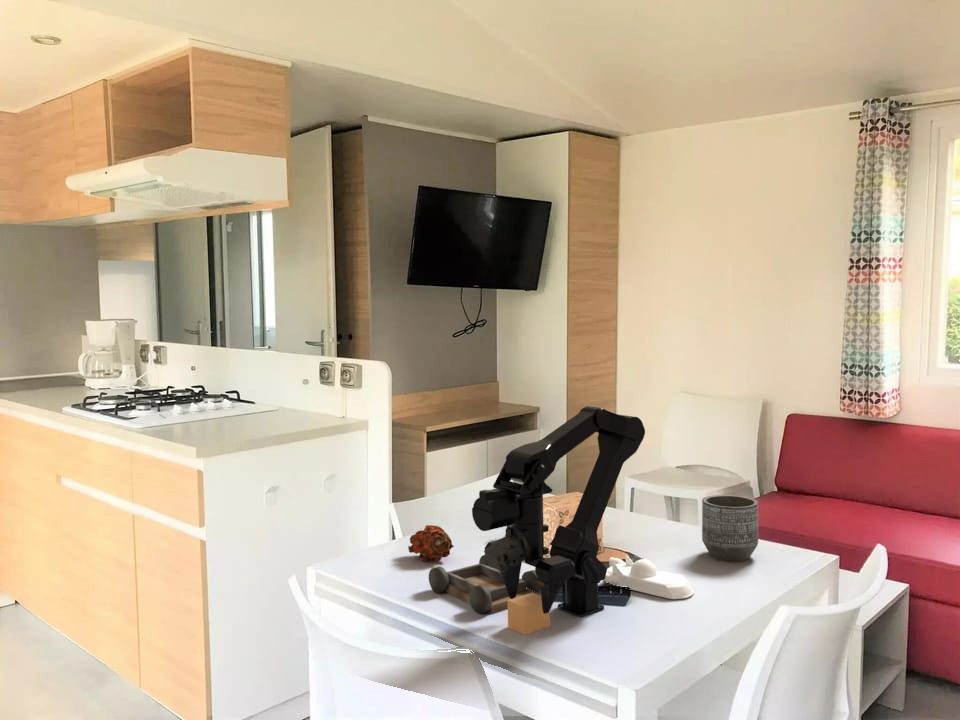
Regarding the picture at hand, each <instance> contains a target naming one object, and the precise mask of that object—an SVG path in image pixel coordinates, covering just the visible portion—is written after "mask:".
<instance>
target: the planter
mask: <svg viewBox="0 0 960 720" xmlns="http://www.w3.org/2000/svg"><path fill="white" fill-rule="evenodd" d="M701 501H702V504H701V506H702V507H701V508H702V510H701V513H702V516H701V519H702V521H701V522H702V523H701V524H702V526H701V527H702V528H701V539H702V542H703V544H704V546H705V549H706V550H707V551H708V553H709V554H710V556H711V557H712V558H713V559H716V560H718V561H723V562H730V563H739V562H745V561H747V560H749V559H750V557H751V556H752V554H753V553H754V552H755V550H756V548H757V546H758V544H759V501H758V500H757V499H754V498H751V497H748V496H744V495H735V494H714V495H713V494H712V495H707V496H705V497H703V498H702V500H701Z"/></svg>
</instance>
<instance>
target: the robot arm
mask: <svg viewBox="0 0 960 720" xmlns="http://www.w3.org/2000/svg"><path fill="white" fill-rule="evenodd" d="M595 433H597V434H598V435H597V444H598V452H599V453H598V456H597V459H596V462H595V464H594V466H593V469H592V471H591V473H590V476H589V479H588V481H587V484H586V486H585V488H584V491H583V493H582V496H581V498H580V501H579V503H578V506H577V508H576V511H575V514H574V515H573V518H572V520H571V522H569V524H567V525H566V526H563V525H558V526H557V528H556V529H555V533H554V536H553V538H552V540H551V542H549V546H550V548H549V547H547V546H545V542H544V541H545V538H544V537H545V534H544V533H546V532H549V525H547V524H544V495H546V494H551V493H553V489H552V488H551V487H550V486H549V485H548V484H547V483H546V482H545V481H546V480H547V479H548V478H549V477H550V476H551V475H552V474H553V473H554V472H555V468H556V467H557V466H556V465H557V464H558V463H557V462H558V461H560V460H561V459H562V458H563V457H565V456H566V455H567V454H568V453H570V452H571V451H573V450H574V449H575V448H576V447H578V446H579V445H580V444H582V443H583V442H584V441H586V440H587V439H588V438H590V437H591V436H592V435H594V434H595ZM645 435H646V429H645V425H644V423H643V420H642V419H641V418H639V417H638V416H633V415H632V416H631V415H624V414H618V413H615V412H611V411H610V410H607V409H605V408H604V407H597V406H585V407H582V408H581V409H580V411H579V412H578V413H576V414H575V415H574V416H572V417H571V418H570V419H568V420H566V421H565V422H564V423H563V424H561V425H560V426H558V427H557V428H556V429H554V430H553V431H551V432H550V433H549V434H547V435H546V436H544V437H543V438H542V439H540V440H538V441H535V442H530V443H525V444H523V445H520V446H519V447H516V448H514V449H512V450H510V451H509V452H508V453H507V455H506V457H505V462H504V464H503V465H502V468H501V469H500V471H499V473H498V475H497V478H496V479H495V481H494V483H493V485H492V487H493V489H482V490H481V489H480V490H479V491H478V492H479V493H478V494H479V495H478V497H477V498H476V499H475V501H474V503H473V505H472V508H471V514H472V519H473V522H474V524H475V525H476V527H477V528H478V529H479V530H480V531H482V532H487V531H491V530H497V529H500V528H504V527H506V528H505V535H504V536H503V537H502V538H499V539H496V540H492V541H488V542H487V543H486V545H485V547H484V550H483V552H484V555H485V558H487V561H488V564H489V567H491V568H495V569H498V570H499V571H500V572H501V575H502V577H503V580H504V583H505V586H506V589H507V592H508V594H509V597H510V599H513V598H515V597H516V594H517V589H518V583H519V578H520V575H521V570H522V564H523V563H524V564H526V565H530V566H531V567H534V570H535V573H536V575H537V577H538V578H536V579H535V581H536V582H537V583H538V584H539V585H540V586H541V595H540V596H541V599H542V609H543V613H544V614H546V613H549V614H550V611H551V609H552V607H553V604H554V603H555V600H556V598H557V596H558V593H559V591H560V590H561V588H562V591H561V592H562V593H561V594H562V602H561V603H558V604H557V608H558V609H561V610H563V611H566V612H567V613H570V614H573V615H575V616H577V617H584V616H586V615H590V614H593V613H595V612H598V611H601V610H604V609H605V605H603V604H600V603H599V584H600V583H601V582H602V581H601V580H604V579H605V576H606V572H607V569H608V568H607V567H606V565H605V564H603V562H602V561H601V560H599V558H598V552H599V549H600V545H599V539H598V529H599V526H600V525H601V521H602V519H603V517H604V514H605V510H606V508H607V505H608V504H609V501H610V498H611V497H612V496H611V495H612V493H613V491H614V489H615V486H616V482H617V480H618V478H619V475H620V472H621V470H622V468H623V465H624V464H625V462H626V461H627V460H628V459H630V458H631V457H633V455H635V454H636V453H637V451H638V449H639V447H640V445H641V444H642V442H643V440H644V438H645ZM513 481H515V482H513ZM519 482H520V483H519ZM521 483H522V484H521ZM546 555H549V557H546V558H545V557H544V556H546Z"/></svg>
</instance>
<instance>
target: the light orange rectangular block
mask: <svg viewBox="0 0 960 720" xmlns="http://www.w3.org/2000/svg"><path fill="white" fill-rule="evenodd" d="M550 618H551V617H550V612H549V613H546V614H544V613H543V609H542V599H541V595H538V594H535V593H529V594H526V595H523V596H520V597H516V598H513V599H510V600H508V609H507V626H508V627H507V628H510V629H511V630H513V631H516V632H518V633H520V634H523V635H526V634H530V633H533V632H535V631H539V630H542V629H544V628H548V627H550Z"/></svg>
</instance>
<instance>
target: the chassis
mask: <svg viewBox="0 0 960 720" xmlns="http://www.w3.org/2000/svg"><path fill="white" fill-rule="evenodd" d="M536 578H538V577H537V575H536V573H535V569H530V570H528V571H525V572H523V574H522V575H521V578H520V577H519V583H518V589H517V594H516V597H520V596H523V595H526V594H529V593H535V592H540V591H541V586H540V585H539V584H538V583H537V582H536V581H535V579H536ZM428 582H429V586H430V589H431V590H432V591H433V592H434V593H436V594H440V593H444V592H445V593H447V594H449V595H451V596H453V597H455V598H458V599H460V600H462V601H464V602H466V603H468V604H470V606H471V608H472V609H473V611H474V612H475V613H477V614H483V613H486V612H487V613H490V614H495V613H497V612H502V611H505V610H508V600H510V597H509V594H508V592H507V589H506V586H505V583H504V580H503V577H502V575H501V572H500V571H499V570H498V569H495V568H491V567H489V564H488V561H487V558H485V554H484V555H481V556H480V557H479V561H478V563H477V564H473V565H469V566H466V567H461V568H458V569H454V570H450V571H446V569H445V568H444V567H443V566H436V567H432V568H430V570H429V572H428ZM526 587H527V588H529V589H531V590H533V591H531V590H530V591H529V590H526ZM534 591H535V592H534ZM516 597H515V598H516Z"/></svg>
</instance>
